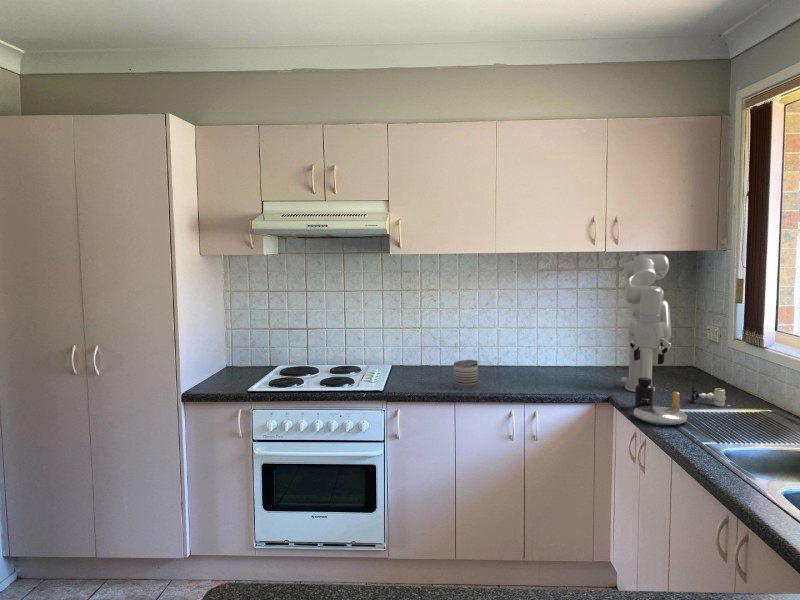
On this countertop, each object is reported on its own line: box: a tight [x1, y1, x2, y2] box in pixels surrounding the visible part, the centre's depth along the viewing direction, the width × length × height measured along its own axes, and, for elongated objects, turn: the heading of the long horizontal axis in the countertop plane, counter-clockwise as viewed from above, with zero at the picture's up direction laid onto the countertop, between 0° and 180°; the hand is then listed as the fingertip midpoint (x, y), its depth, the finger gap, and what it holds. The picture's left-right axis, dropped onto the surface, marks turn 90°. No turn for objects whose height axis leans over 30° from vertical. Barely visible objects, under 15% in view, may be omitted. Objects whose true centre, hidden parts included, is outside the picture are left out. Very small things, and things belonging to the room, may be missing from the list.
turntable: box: [633, 391, 688, 425], centre depth 210 cm, size 22×18×7 cm
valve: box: [690, 386, 727, 407], centre depth 229 cm, size 7×7×12 cm
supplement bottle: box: [634, 377, 655, 408], centre depth 224 cm, size 7×7×12 cm
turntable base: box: [639, 419, 674, 427], centre depth 209 cm, size 14×14×1 cm
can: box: [453, 359, 479, 391], centre depth 261 cm, size 11×11×12 cm
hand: (648, 361), depth 222 cm, fingers open, 9 cm apart
